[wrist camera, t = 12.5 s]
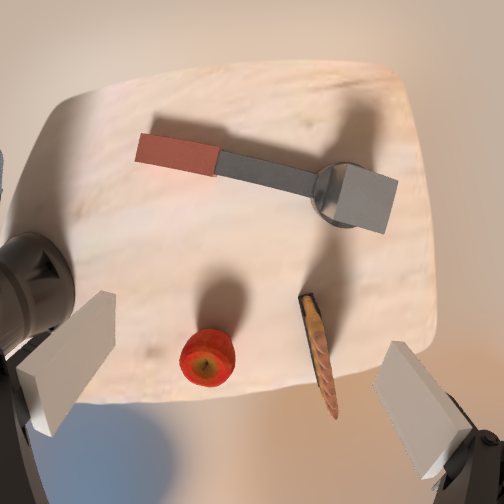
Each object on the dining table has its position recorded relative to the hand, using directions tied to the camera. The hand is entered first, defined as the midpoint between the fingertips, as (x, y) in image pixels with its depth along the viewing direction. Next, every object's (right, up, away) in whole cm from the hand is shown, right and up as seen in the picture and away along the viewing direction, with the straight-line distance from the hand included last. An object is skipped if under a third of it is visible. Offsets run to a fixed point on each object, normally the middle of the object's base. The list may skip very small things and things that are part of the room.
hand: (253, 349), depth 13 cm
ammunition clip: (+8, -6, +25) cm, 27 cm away
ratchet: (0, +13, +21) cm, 24 cm away
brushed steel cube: (+10, +10, +18) cm, 23 cm away
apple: (-5, -7, +26) cm, 27 cm away
